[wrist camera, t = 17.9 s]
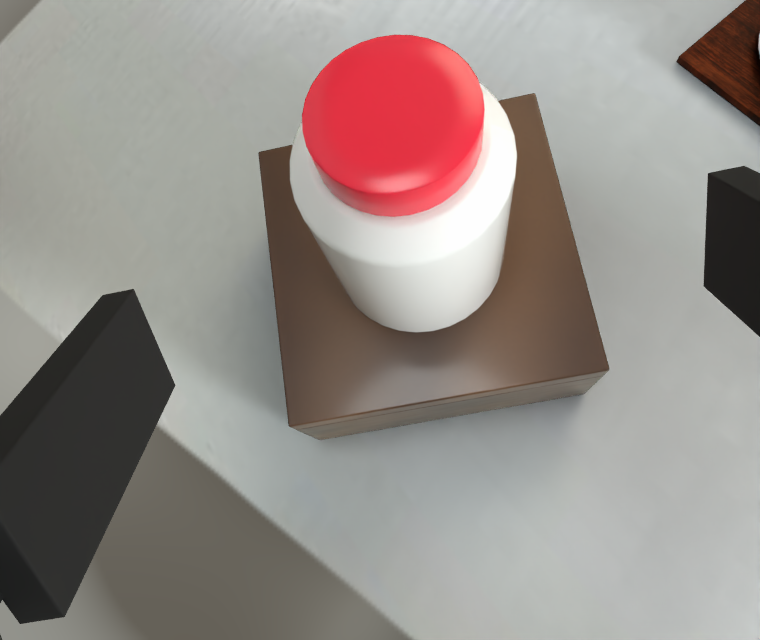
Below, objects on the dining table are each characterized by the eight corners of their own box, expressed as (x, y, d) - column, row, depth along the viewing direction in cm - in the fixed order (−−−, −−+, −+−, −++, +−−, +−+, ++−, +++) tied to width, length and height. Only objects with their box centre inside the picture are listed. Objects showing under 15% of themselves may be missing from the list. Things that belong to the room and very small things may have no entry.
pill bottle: (326, 194, 31) (254, 33, 20) (485, 162, 30) (494, -21, 20) (348, 346, 28) (278, 254, 18) (520, 315, 28) (552, 200, 17)
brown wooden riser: (318, 440, 33) (288, 427, 28) (289, 205, 38) (257, 151, 32) (585, 394, 32) (610, 370, 27) (524, 156, 36) (535, 92, 31)
